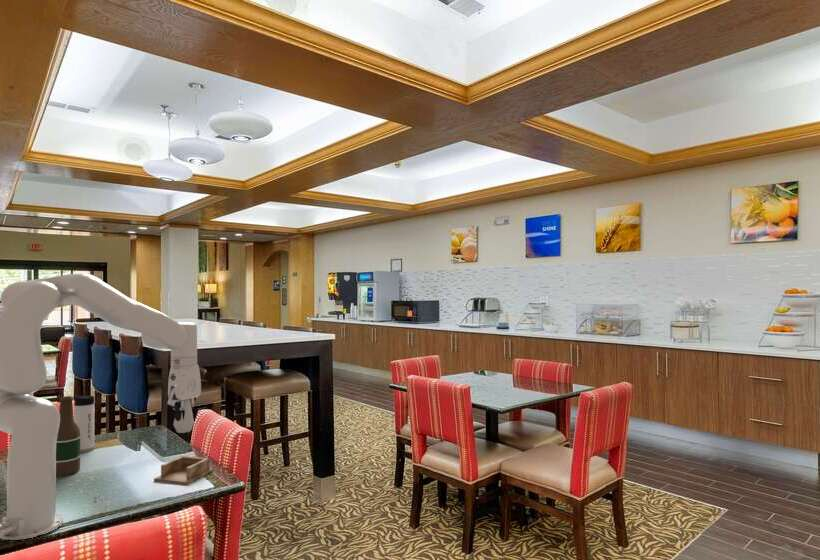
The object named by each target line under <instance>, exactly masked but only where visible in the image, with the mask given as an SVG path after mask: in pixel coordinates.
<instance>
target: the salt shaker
mask: <svg viewBox="0 0 820 560" xmlns="http://www.w3.org/2000/svg"><path fill="white" fill-rule="evenodd" d="M178 403H179V404H180V402H178ZM183 410H185V415H184V420H183V416H182V413H181V420H180V421H176V419H175V418H174V420H173V427H174V428H175V431H176V433H179V434H184V433H189V432H191V431H192V430H193V427H194V424H195V421H194V413H193V414H192V408H191V403H190V399H187V400H184V407H183Z"/></svg>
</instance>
